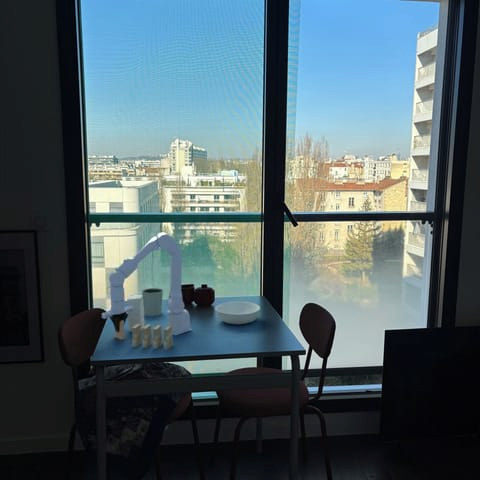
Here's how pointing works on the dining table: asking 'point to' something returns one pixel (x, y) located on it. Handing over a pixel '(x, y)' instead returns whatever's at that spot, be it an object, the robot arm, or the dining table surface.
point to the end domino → (120, 331)
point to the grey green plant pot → (152, 301)
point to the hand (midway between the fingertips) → (119, 330)
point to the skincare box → (136, 311)
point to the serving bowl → (237, 312)
